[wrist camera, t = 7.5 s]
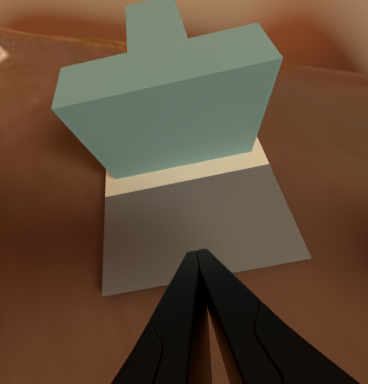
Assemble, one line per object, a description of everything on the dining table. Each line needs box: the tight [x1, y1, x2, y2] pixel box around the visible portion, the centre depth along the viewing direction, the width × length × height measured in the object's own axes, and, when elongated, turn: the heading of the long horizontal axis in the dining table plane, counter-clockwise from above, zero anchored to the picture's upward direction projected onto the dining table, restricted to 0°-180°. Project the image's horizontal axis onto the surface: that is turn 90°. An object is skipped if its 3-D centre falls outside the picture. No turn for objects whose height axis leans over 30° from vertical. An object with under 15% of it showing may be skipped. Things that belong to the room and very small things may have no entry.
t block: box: [51, 0, 283, 179], centre depth 16 cm, size 11×13×8 cm
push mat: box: [102, 137, 312, 297], centre depth 18 cm, size 22×15×1 cm
